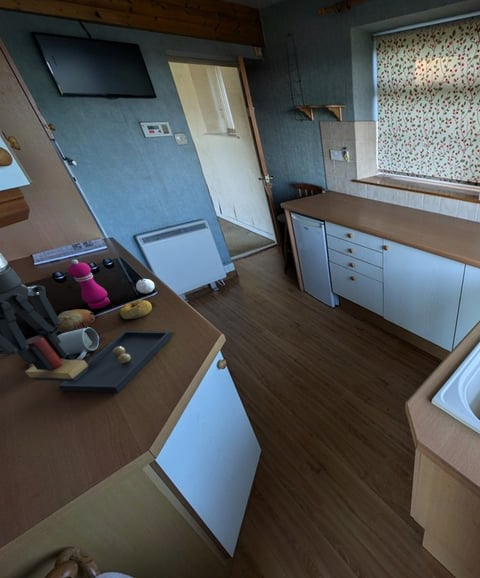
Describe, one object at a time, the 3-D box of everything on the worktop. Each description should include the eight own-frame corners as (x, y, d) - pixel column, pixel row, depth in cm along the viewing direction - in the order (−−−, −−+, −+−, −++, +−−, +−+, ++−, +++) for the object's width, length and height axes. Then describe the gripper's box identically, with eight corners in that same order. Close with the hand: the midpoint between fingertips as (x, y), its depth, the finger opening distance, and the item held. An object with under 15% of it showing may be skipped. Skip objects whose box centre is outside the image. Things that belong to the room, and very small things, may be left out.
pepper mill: (110, 306, 117) (83, 261, 106) (86, 311, 113) (57, 265, 103) (113, 297, 122) (88, 254, 111) (90, 302, 119) (63, 258, 108)
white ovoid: (140, 297, 122) (131, 281, 118) (139, 291, 126) (131, 275, 122) (157, 293, 125) (149, 277, 121) (156, 287, 129) (149, 271, 125)
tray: (63, 391, 82) (58, 385, 81) (127, 335, 102) (124, 330, 101) (118, 392, 82) (114, 387, 81) (172, 336, 102) (169, 331, 101)
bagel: (153, 302, 120) (148, 292, 117) (153, 316, 112) (148, 306, 109) (123, 309, 115) (117, 299, 112) (120, 324, 107) (114, 314, 105)
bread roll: (67, 332, 108) (43, 321, 102) (93, 310, 113) (71, 299, 106) (76, 342, 104) (51, 331, 98) (102, 319, 108) (80, 308, 102)
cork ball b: (117, 365, 89) (113, 358, 88) (125, 358, 92) (121, 351, 90) (127, 365, 89) (123, 358, 88) (134, 358, 92) (130, 351, 90)
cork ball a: (112, 357, 92) (108, 350, 90) (120, 351, 94) (115, 344, 93) (122, 358, 92) (117, 351, 90) (129, 351, 94) (125, 344, 93)
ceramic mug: (71, 346, 97) (58, 328, 93) (102, 340, 100) (90, 322, 96) (55, 369, 89) (40, 350, 85) (89, 361, 92) (76, 343, 87)
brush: (32, 380, 67) (1, 345, 61) (50, 367, 71) (21, 332, 65) (75, 382, 67) (47, 346, 61) (90, 369, 70) (65, 334, 65)
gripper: (-57, 296, 48) (32, 391, 60) (43, 255, 61) (98, 340, 73) (-101, 294, 48) (-4, 390, 60) (8, 253, 61) (69, 338, 74)
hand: (52, 362), depth 67 cm, fingers closed on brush, 3 cm apart
